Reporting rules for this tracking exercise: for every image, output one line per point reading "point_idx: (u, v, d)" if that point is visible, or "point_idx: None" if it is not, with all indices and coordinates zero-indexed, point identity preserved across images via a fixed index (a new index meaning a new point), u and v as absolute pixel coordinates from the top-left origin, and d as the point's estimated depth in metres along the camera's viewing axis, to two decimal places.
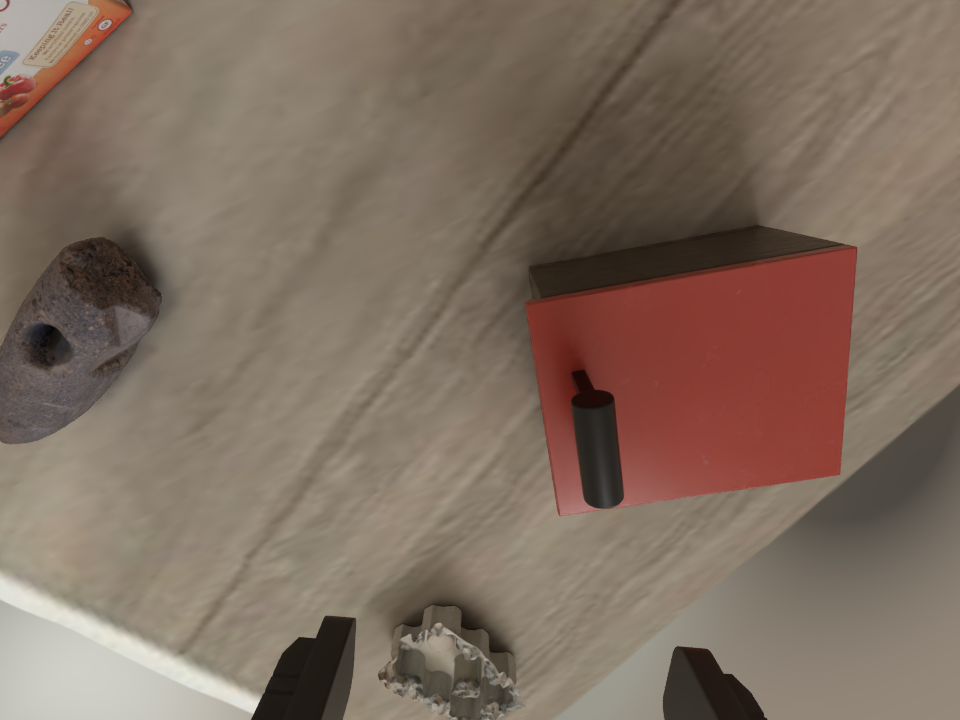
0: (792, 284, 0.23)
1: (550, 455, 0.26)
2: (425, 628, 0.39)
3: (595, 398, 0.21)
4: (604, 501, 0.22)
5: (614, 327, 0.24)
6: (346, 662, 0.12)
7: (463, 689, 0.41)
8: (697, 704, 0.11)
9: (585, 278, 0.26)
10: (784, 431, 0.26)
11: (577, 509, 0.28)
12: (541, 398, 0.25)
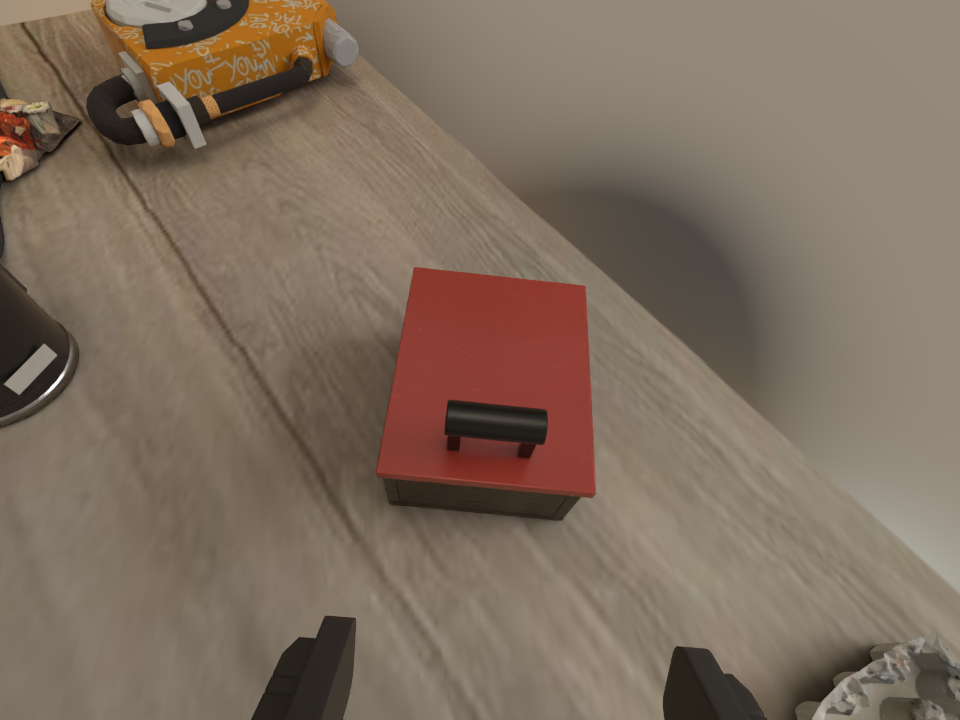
0: (426, 300, 0.34)
1: (525, 486, 0.28)
2: None
3: None
4: (539, 421, 0.25)
5: (418, 410, 0.30)
6: (346, 662, 0.12)
7: None
8: (697, 704, 0.11)
9: None
10: (540, 314, 0.34)
11: (590, 475, 0.28)
12: (465, 480, 0.28)
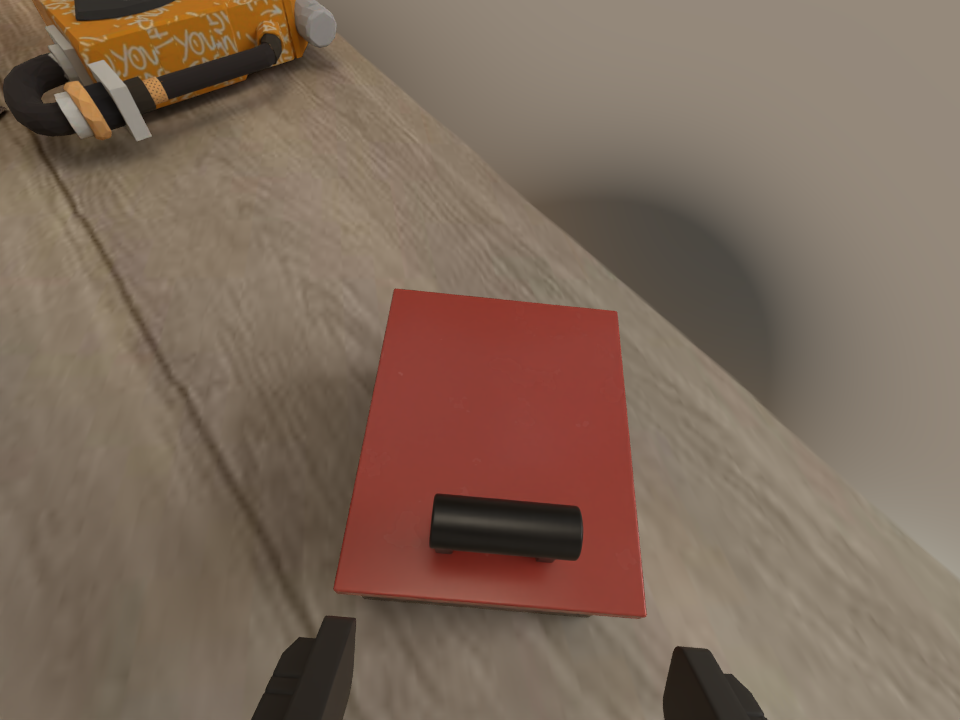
0: (409, 333, 0.26)
1: (547, 607, 0.20)
2: None
3: None
4: (570, 529, 0.17)
5: (396, 492, 0.21)
6: (346, 662, 0.12)
7: None
8: (697, 704, 0.11)
9: None
10: (560, 350, 0.26)
11: (637, 586, 0.20)
12: (461, 600, 0.19)
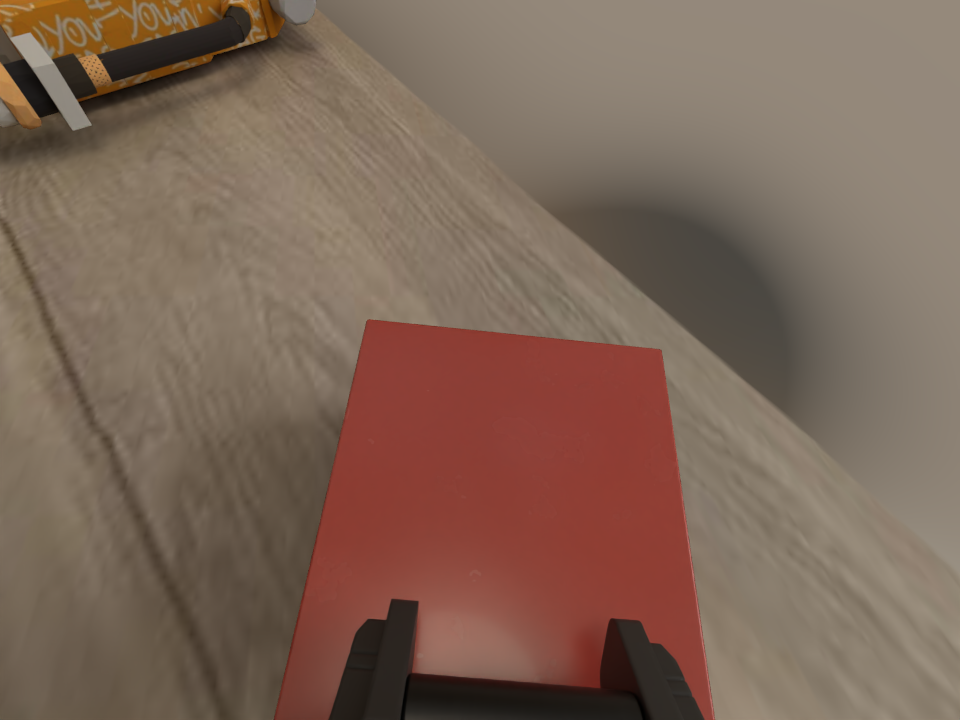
0: (385, 382, 0.19)
1: None
2: None
3: None
4: None
5: (358, 627, 0.15)
6: (413, 642, 0.13)
7: None
8: (623, 670, 0.12)
9: None
10: (588, 405, 0.19)
11: None
12: None
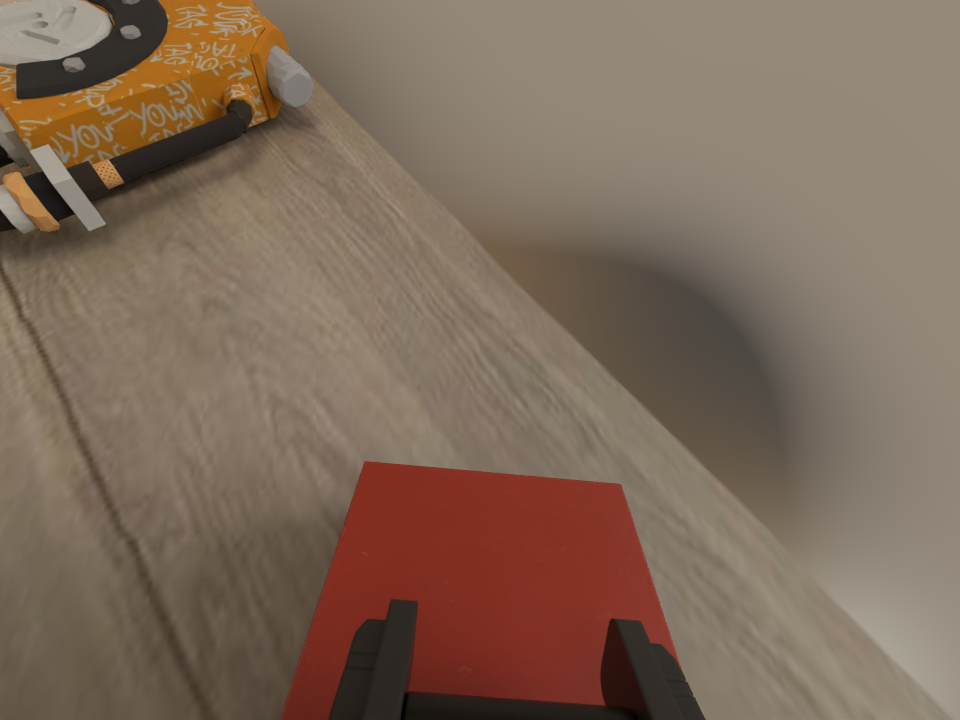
0: (379, 507, 0.21)
1: None
2: None
3: None
4: None
5: None
6: (412, 642, 0.12)
7: None
8: (624, 669, 0.12)
9: None
10: (562, 525, 0.21)
11: None
12: None
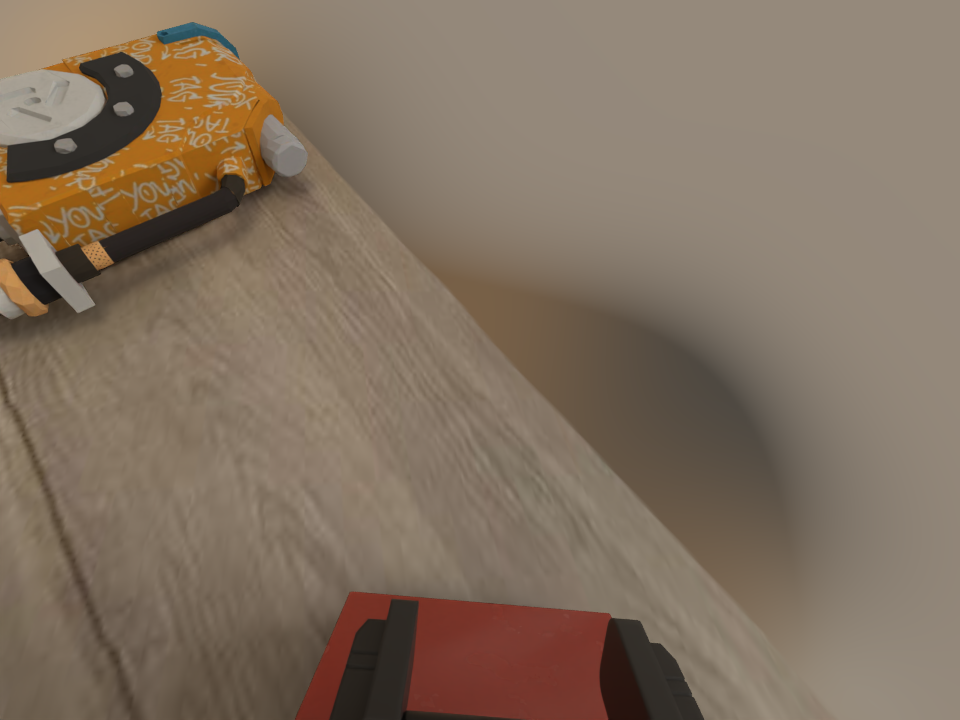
0: None
1: None
2: None
3: None
4: None
5: None
6: (413, 641, 0.13)
7: None
8: (623, 669, 0.12)
9: None
10: (553, 646, 0.21)
11: None
12: None
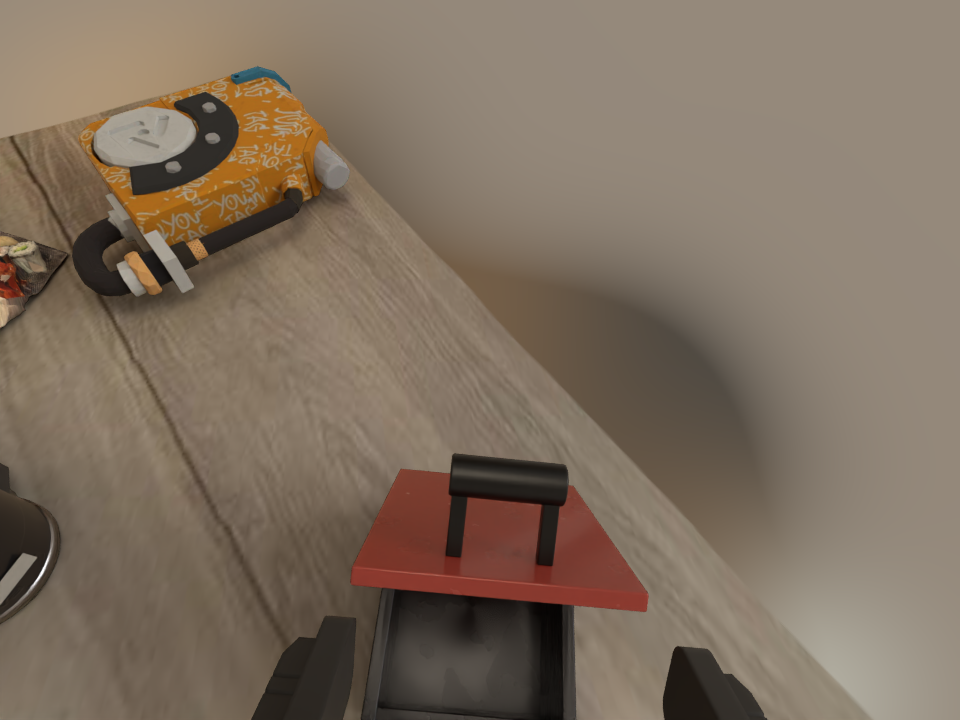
0: (413, 481, 0.32)
1: (554, 585, 0.21)
2: None
3: None
4: (557, 465, 0.22)
5: (408, 532, 0.24)
6: (346, 662, 0.12)
7: None
8: (698, 704, 0.11)
9: None
10: None
11: (633, 580, 0.22)
12: (473, 577, 0.20)
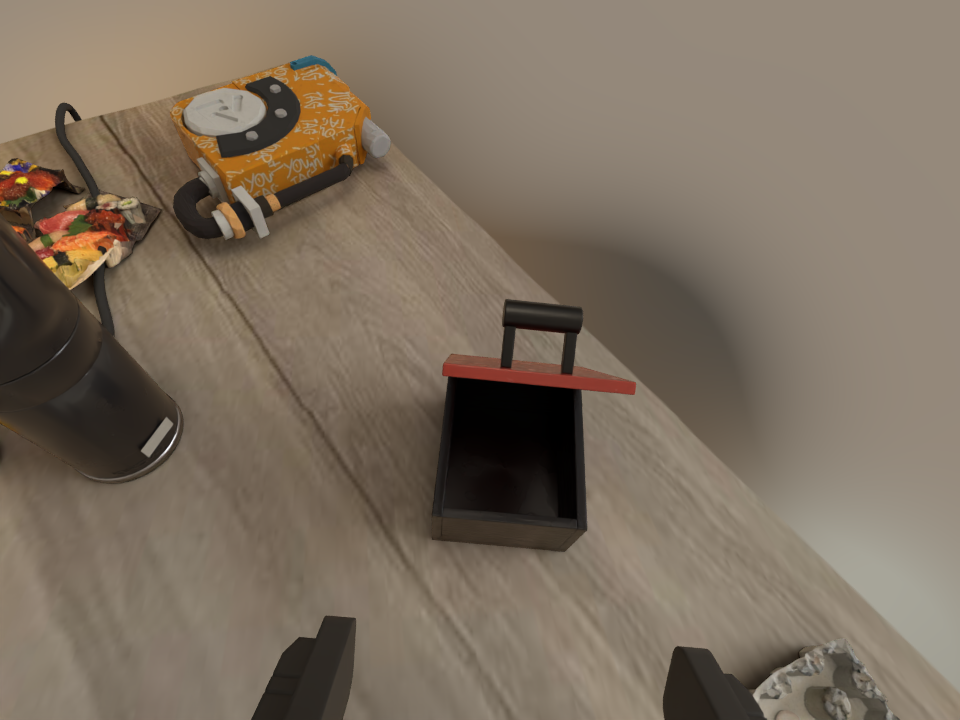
0: (464, 356, 0.43)
1: (574, 376, 0.32)
2: None
3: (503, 311, 0.33)
4: (575, 306, 0.33)
5: (472, 362, 0.35)
6: (346, 662, 0.12)
7: (836, 707, 0.39)
8: (698, 704, 0.11)
9: None
10: (553, 365, 0.43)
11: (626, 380, 0.33)
12: (521, 371, 0.32)
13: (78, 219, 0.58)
